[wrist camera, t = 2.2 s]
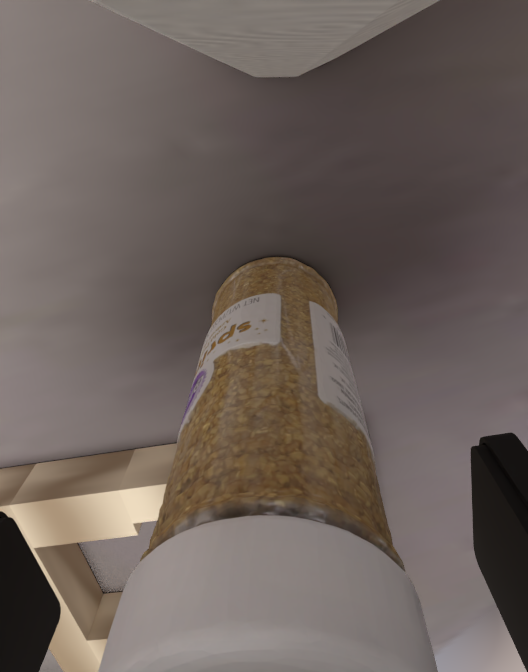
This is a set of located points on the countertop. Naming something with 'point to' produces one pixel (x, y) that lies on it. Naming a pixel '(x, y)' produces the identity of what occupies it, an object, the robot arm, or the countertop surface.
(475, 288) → the countertop surface
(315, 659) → the sprinkles bottle
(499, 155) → the countertop surface
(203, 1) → the paper towel roll
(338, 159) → the countertop surface
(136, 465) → the wooden frame
